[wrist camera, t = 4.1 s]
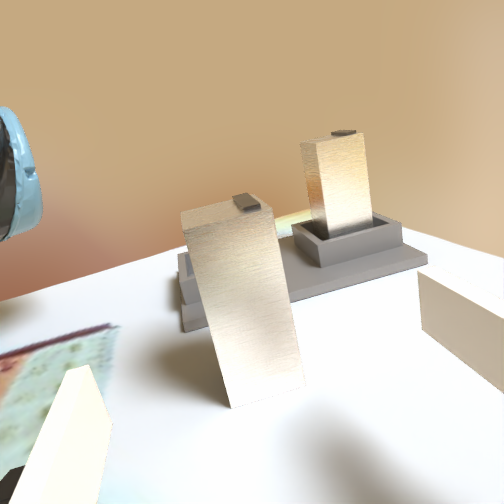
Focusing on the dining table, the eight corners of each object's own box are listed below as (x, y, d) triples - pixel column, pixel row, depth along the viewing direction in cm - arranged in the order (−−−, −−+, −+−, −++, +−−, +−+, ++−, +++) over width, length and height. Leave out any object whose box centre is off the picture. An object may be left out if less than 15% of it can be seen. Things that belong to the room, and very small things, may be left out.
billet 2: (332, 257, 42) (315, 140, 38) (316, 244, 47) (299, 139, 43) (375, 245, 43) (362, 129, 39) (355, 234, 48) (342, 129, 44)
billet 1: (231, 408, 25) (181, 224, 21) (221, 365, 30) (179, 207, 26) (305, 385, 26) (271, 202, 22) (284, 346, 30) (252, 189, 26)
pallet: (185, 332, 36) (175, 297, 34) (180, 272, 51) (173, 247, 49) (427, 263, 38) (425, 229, 37) (355, 226, 53) (352, 201, 52)
